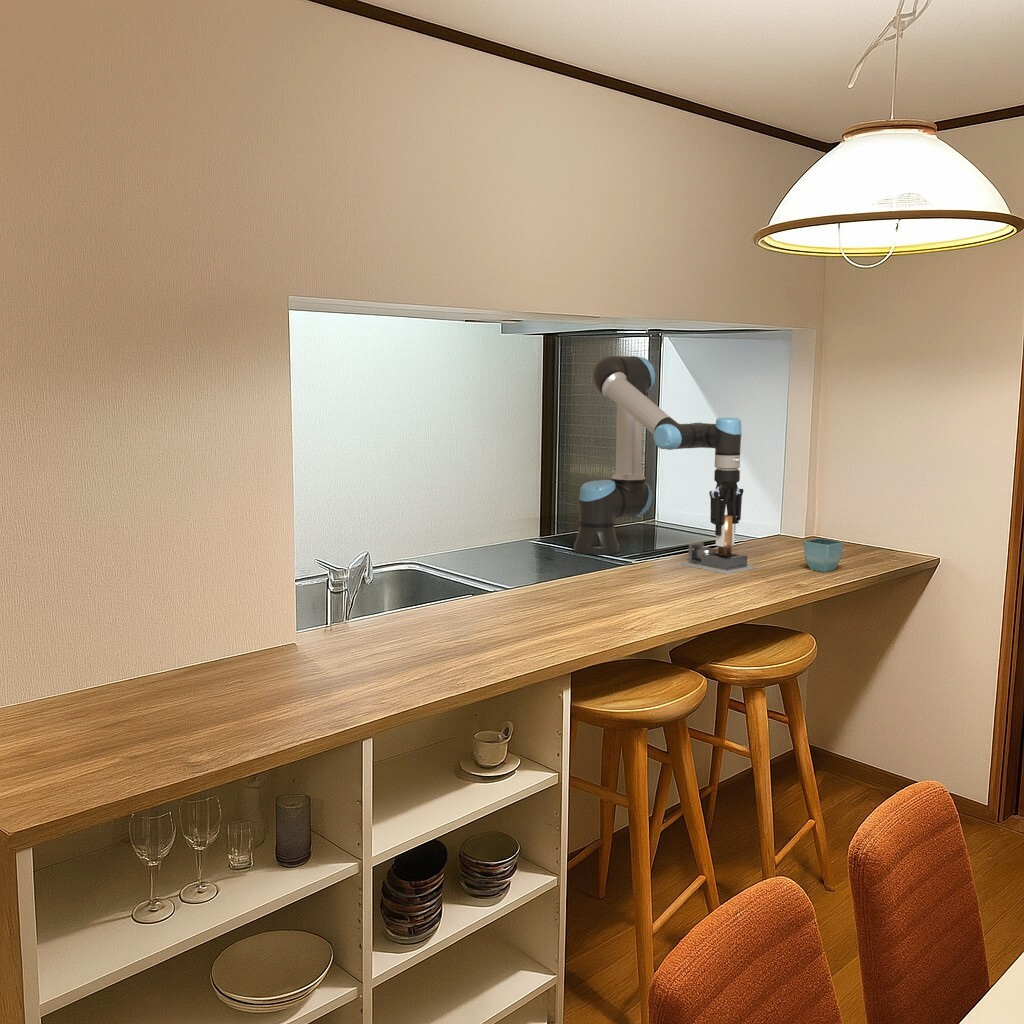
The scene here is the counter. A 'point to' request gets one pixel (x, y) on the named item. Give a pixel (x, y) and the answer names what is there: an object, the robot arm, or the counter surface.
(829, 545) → the flower pot
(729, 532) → the pipe stub
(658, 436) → the robot arm
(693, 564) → the dark grey holder base
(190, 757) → the counter surface
